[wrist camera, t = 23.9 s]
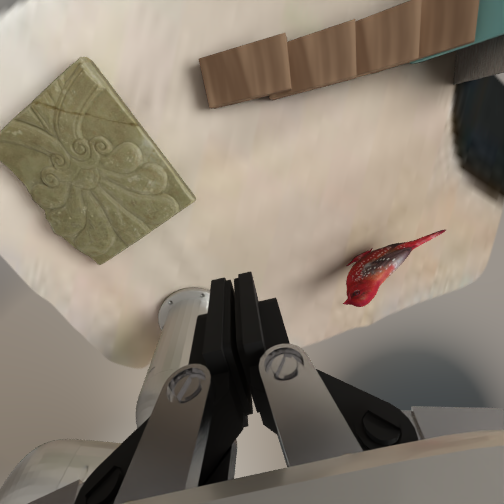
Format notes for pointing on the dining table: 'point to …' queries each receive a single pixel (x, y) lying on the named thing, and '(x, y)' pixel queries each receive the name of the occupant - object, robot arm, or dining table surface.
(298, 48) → the domino
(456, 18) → the domino
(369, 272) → the decorative bird figurine
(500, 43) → the block
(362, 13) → the dining table surface
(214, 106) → the domino
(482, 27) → the domino
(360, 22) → the domino
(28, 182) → the decorative tile
